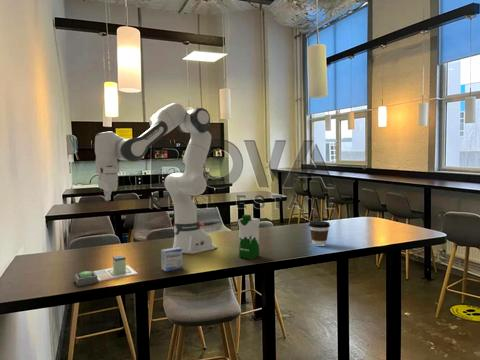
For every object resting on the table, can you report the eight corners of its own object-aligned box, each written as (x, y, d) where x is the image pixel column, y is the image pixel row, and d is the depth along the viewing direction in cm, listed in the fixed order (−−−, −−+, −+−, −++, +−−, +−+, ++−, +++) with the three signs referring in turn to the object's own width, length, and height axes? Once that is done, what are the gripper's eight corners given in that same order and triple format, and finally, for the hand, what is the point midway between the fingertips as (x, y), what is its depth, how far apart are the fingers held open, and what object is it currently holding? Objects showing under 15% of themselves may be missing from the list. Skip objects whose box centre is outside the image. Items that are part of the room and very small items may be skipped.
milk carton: (236, 257, 173) (235, 215, 171) (246, 253, 180) (246, 212, 179) (252, 260, 168) (251, 217, 166) (262, 256, 175) (262, 214, 174)
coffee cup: (304, 245, 194) (304, 222, 193) (317, 241, 202) (317, 220, 201) (321, 249, 186) (321, 225, 185) (334, 245, 193) (334, 222, 193)
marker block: (123, 269, 156) (122, 255, 155) (125, 271, 152) (125, 257, 152) (113, 270, 154) (112, 256, 153) (115, 273, 150) (115, 258, 150)
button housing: (93, 277, 148) (93, 271, 148) (97, 282, 142) (97, 275, 142) (74, 280, 144) (74, 274, 144) (78, 286, 138) (77, 279, 138)
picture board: (128, 266, 161) (128, 264, 161) (137, 274, 151) (137, 272, 150) (91, 272, 153) (91, 271, 153) (98, 281, 142) (98, 280, 142)
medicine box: (165, 272, 153) (165, 251, 153) (161, 269, 157) (160, 249, 156) (182, 268, 158) (182, 248, 157) (178, 265, 162) (177, 246, 161)
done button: (91, 277, 146) (90, 270, 146) (93, 281, 142) (93, 273, 142) (79, 280, 144) (78, 272, 143) (81, 283, 140) (80, 275, 140)
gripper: (93, 168, 170) (95, 198, 171) (104, 169, 153) (105, 203, 154) (108, 167, 173) (109, 197, 174) (119, 169, 156) (121, 201, 157)
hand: (107, 199), depth 164 cm, fingers closed
